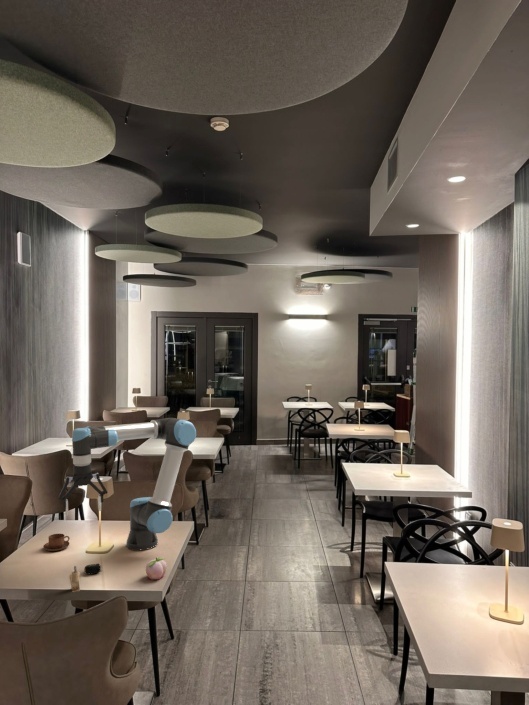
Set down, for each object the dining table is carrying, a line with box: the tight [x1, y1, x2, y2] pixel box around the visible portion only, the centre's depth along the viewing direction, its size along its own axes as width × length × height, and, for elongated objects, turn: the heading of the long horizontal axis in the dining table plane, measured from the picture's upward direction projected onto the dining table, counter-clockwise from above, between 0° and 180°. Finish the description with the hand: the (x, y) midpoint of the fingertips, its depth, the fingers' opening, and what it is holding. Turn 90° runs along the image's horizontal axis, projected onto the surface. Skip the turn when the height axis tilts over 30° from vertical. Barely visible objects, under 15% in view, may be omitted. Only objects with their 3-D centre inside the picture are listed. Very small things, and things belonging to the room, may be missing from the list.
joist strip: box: [69, 574, 81, 593], centre depth 227 cm, size 3×18×1 cm, turn 22°
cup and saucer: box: [43, 533, 71, 552], centre depth 268 cm, size 12×12×6 cm
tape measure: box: [83, 563, 102, 575], centre depth 238 cm, size 7×7×4 cm
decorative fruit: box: [145, 557, 168, 580], centre depth 232 cm, size 9×8×10 cm
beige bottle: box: [70, 565, 80, 591], centre depth 221 cm, size 3×3×9 cm
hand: (83, 512), depth 237 cm, fingers open, 13 cm apart
